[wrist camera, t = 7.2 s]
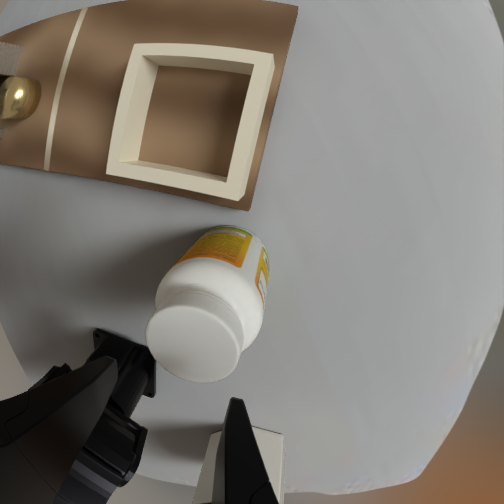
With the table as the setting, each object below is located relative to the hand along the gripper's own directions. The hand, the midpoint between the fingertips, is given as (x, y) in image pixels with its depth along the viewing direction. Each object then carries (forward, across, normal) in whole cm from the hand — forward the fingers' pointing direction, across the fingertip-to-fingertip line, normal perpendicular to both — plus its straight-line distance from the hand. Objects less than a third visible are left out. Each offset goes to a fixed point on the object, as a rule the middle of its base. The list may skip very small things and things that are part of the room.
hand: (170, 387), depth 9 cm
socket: (+11, +4, -9) cm, 15 cm away
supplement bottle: (+12, 0, 0) cm, 12 cm away
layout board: (+12, +16, -11) cm, 23 cm away
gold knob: (+11, +20, -10) cm, 25 cm away
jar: (+12, -6, +21) cm, 25 cm away
